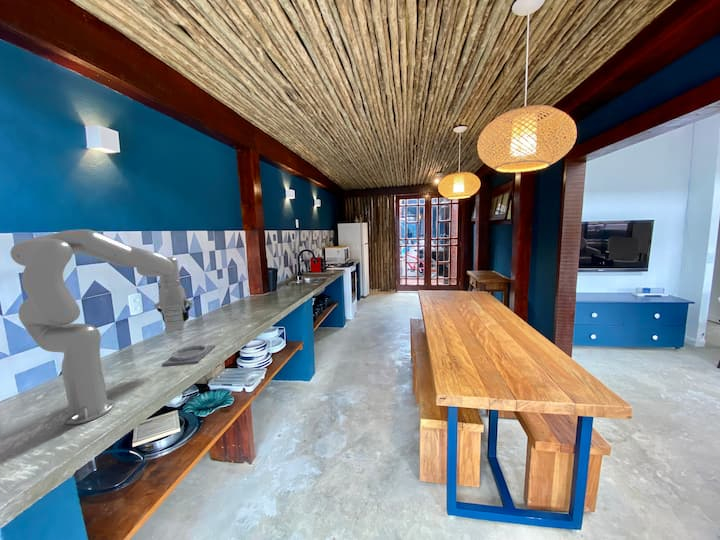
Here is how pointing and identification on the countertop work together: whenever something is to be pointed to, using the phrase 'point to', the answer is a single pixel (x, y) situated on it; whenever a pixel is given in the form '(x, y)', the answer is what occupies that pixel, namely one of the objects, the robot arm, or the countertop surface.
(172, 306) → the supplement box
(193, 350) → the slate board
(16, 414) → the countertop surface
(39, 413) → the countertop surface
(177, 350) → the steel ring
